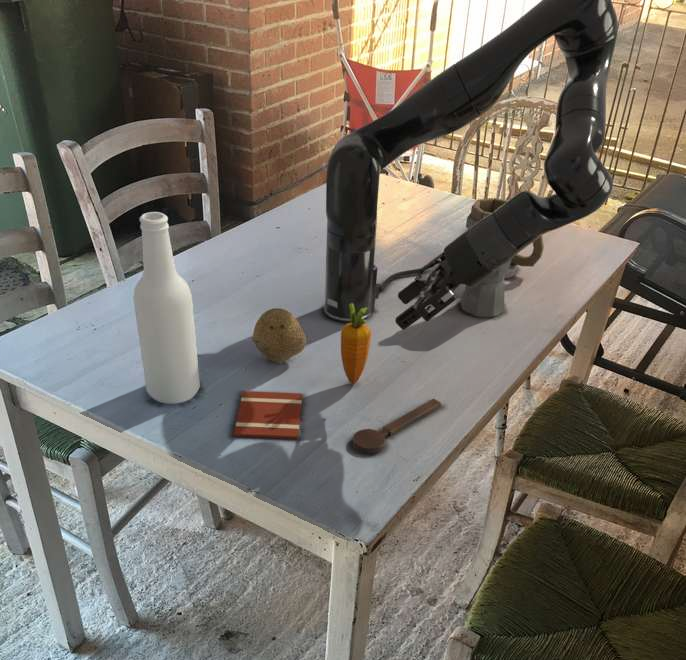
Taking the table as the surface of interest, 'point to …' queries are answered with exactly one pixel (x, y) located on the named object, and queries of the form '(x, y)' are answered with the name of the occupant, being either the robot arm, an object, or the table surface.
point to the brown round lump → (278, 335)
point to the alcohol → (165, 318)
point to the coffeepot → (486, 295)
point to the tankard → (489, 206)
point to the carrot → (355, 345)
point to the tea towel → (269, 415)
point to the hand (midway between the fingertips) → (399, 311)
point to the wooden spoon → (390, 429)
